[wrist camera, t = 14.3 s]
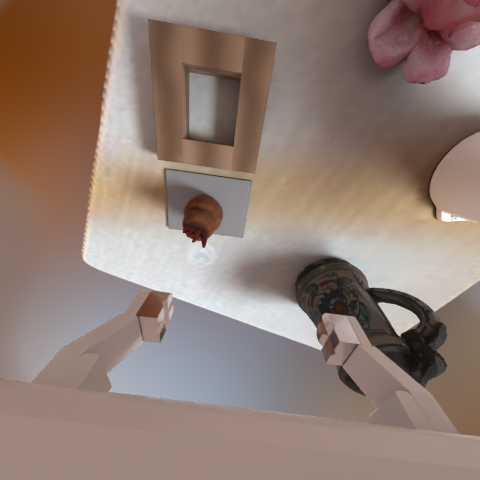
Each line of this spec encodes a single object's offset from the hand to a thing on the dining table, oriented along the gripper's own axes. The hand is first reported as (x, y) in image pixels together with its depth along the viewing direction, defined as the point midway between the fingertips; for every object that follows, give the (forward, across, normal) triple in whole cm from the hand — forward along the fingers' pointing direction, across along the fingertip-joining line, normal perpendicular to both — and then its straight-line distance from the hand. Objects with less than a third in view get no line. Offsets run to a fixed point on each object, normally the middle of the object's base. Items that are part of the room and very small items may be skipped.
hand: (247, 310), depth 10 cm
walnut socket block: (+30, +8, -11) cm, 33 cm away
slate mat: (+30, +8, +5) cm, 31 cm away
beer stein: (+31, -23, +20) cm, 44 cm away
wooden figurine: (+29, +8, +5) cm, 31 cm away
